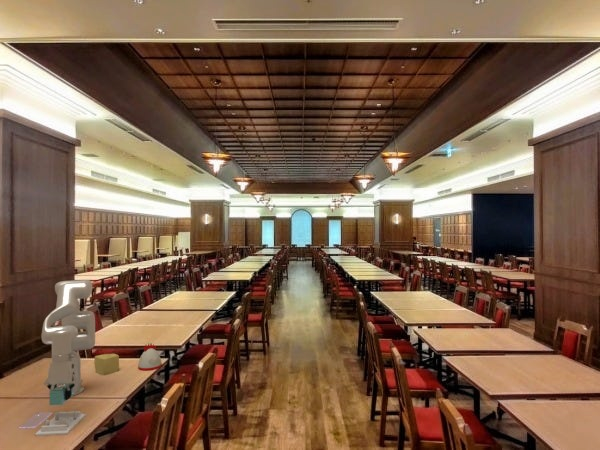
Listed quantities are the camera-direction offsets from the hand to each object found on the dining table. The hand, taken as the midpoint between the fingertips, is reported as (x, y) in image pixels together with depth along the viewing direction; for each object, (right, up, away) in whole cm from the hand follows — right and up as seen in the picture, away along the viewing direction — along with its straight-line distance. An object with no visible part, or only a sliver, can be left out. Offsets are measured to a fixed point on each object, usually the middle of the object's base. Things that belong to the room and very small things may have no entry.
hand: (61, 398), depth 182 cm
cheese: (-13, -13, +70) cm, 73 cm away
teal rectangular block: (0, -1, 0) cm, 1 cm away
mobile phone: (-15, -13, +5) cm, 20 cm away
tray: (0, -12, 0) cm, 12 cm away
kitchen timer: (+11, -13, +78) cm, 80 cm away
